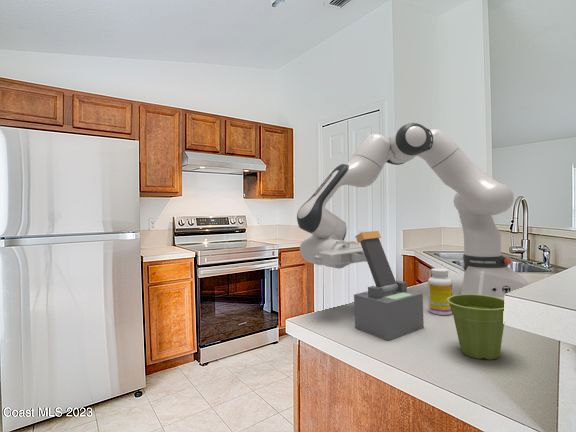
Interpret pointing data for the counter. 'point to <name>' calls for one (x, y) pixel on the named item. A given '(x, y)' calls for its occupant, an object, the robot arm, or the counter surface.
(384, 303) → the box
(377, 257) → the lever
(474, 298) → the plant pot
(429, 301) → the supplement bottle
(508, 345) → the counter surface
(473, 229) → the robot arm
